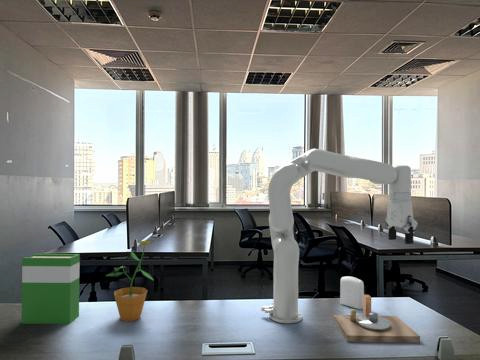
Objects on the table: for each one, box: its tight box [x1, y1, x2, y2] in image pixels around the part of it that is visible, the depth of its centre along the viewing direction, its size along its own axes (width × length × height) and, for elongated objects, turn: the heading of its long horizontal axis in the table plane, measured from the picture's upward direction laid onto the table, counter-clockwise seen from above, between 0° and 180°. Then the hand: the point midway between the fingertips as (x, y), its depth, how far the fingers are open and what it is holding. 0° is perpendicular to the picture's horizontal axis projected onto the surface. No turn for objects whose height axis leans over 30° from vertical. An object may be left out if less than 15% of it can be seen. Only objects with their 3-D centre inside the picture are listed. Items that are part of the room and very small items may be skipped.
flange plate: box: [357, 294, 390, 331], centre depth 126 cm, size 14×11×8 cm
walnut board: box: [332, 308, 421, 343], centre depth 125 cm, size 24×18×6 cm
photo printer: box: [339, 275, 365, 310], centre depth 150 cm, size 10×4×12 cm, turn 39°
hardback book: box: [21, 253, 81, 325], centre depth 132 cm, size 18×7×24 cm, turn 90°
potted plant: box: [104, 240, 154, 322], centre depth 135 cm, size 18×19×30 cm
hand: (400, 241), depth 136 cm, fingers open, 9 cm apart
